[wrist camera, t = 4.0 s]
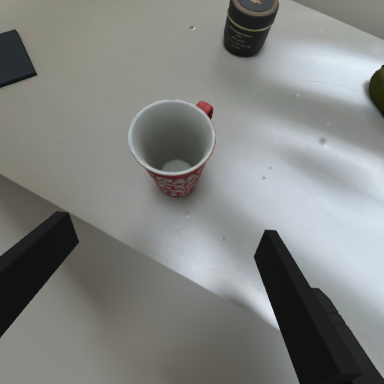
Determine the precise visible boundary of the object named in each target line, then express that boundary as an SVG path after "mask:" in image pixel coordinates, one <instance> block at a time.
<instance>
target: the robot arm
mask: <svg viewBox="0 0 384 384" xmlns="http://www.w3.org/2000/svg"><path fill="white" fill-rule="evenodd" d="M78 243H79V241H78V238H77V235H76V232H75V229H74V226H73V224H72V221H71V218H70V215H69V212H59V211H57V212H55V213H54V214H53V215H51V216H50V217H49V218H48V219H46V220H45V221H44V222H43V223H41V224H40V225H39V226H38V227H36V228H35V229H34V230H33V231H31V232H30V233H29V234H28V235H26V236H25V237H24V238H23V239H21V240H20V241H19V242H18V243H16V244H15V245H14V246H13V247H11V248H10V249H9V250H8V251H6V252H5V253H4V254H3V255H1V256H0V338H1V336H2V335H3V334H4V333H5V331H6V330H7V329H8V328H9V327H10V325H11V324H12V323H13V322H14V320H15V319H16V318H17V317H18V316H19V314H20V313H21V312H22V311H23V309H24V308H25V307H26V306H27V304H29V302H30V301H31V300H32V299H33V297H34V296H35V295H36V294H37V293H38V291H39V290H40V289H41V288H42V287H43V285H44V284H45V283H46V282H47V281H48V279H49V278H50V277H51V276H52V274H53V273H54V272H55V271H56V270H57V268H58V267H59V266H60V265H61V264H62V262H63V261H64V260H65V259H66V257H67V256H68V255H69V254H70V253H71V251H72V250H73V249H74V248H75V247H76V245H77V244H78ZM254 259H255V262H256V264H257V267H258V270H259V273H260V275H261V278H262V281H263V284H264V286H265V289H266V292H267V295H268V298H269V300H270V303H271V306H272V309H273V311H274V314H275V317H276V320H277V322H278V325H279V328H280V331H281V333H282V336H283V339H284V342H285V344H286V347H287V349H288V353H289V355H290V358H291V361H292V363H293V367H294V369H295V372H296V374H297V377H298V380H299V383H300V384H384V378H383V377H382V376H381V375H380V373H379V372H378V371H377V369H376V368H375V366H374V365H373V363H372V362H371V360H370V359H369V357H368V356H367V354H366V353H365V351H364V350H363V348H362V347H361V345H360V344H359V342H358V341H357V339H356V338H355V336H354V335H353V333H352V332H351V330H350V329H349V327H348V326H347V325H346V324H345V321H344V320H343V318H342V317H341V315H340V314H338V311H337V309H336V308H335V306H334V305H333V303H332V302H331V300H330V299H329V298H328V297H327V296H326V295H325V294H324V293H323V292H322V291H321V290H320V289H319V288H311V287H310V285H309V284H308V282H307V280H306V279H305V277H304V276H303V274H302V272H301V271H300V269H299V267H298V266H297V264H296V262H295V261H294V259H293V257H292V256H291V254H290V252H289V251H288V249H287V247H286V246H285V244H284V243H283V241H282V239H281V238H280V236H279V234H278V233H277V231H275V230H265V231H264V233H263V236H262V238H261V241H260V243H259V245H258V248H257V250H256V253H255V255H254Z"/></svg>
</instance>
